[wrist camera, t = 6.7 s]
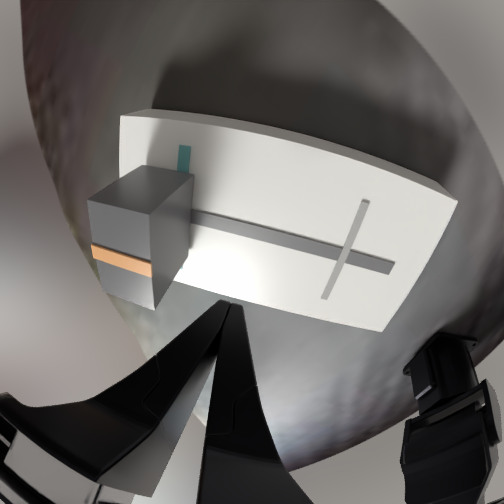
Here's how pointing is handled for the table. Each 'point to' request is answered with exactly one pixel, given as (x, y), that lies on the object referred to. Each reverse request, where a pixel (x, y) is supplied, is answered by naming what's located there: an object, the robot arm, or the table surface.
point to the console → (293, 215)
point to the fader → (141, 232)
